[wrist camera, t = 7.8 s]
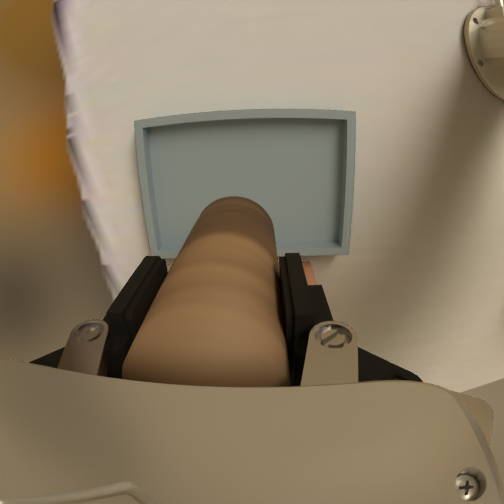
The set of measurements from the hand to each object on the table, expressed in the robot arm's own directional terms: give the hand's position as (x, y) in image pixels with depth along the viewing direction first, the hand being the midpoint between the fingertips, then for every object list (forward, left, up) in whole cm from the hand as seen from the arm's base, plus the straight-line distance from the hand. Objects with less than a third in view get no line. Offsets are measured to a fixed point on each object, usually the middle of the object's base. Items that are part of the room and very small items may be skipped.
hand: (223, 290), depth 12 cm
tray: (0, 0, -20) cm, 20 cm away
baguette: (0, 0, -6) cm, 6 cm away
